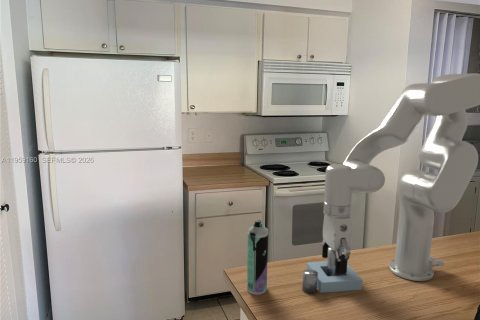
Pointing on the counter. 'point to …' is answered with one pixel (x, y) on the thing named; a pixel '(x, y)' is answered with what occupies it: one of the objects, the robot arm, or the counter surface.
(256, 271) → the spray can
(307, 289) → the short pin
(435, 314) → the counter surface
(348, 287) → the collar block
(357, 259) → the counter surface
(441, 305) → the counter surface
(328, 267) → the long pin
